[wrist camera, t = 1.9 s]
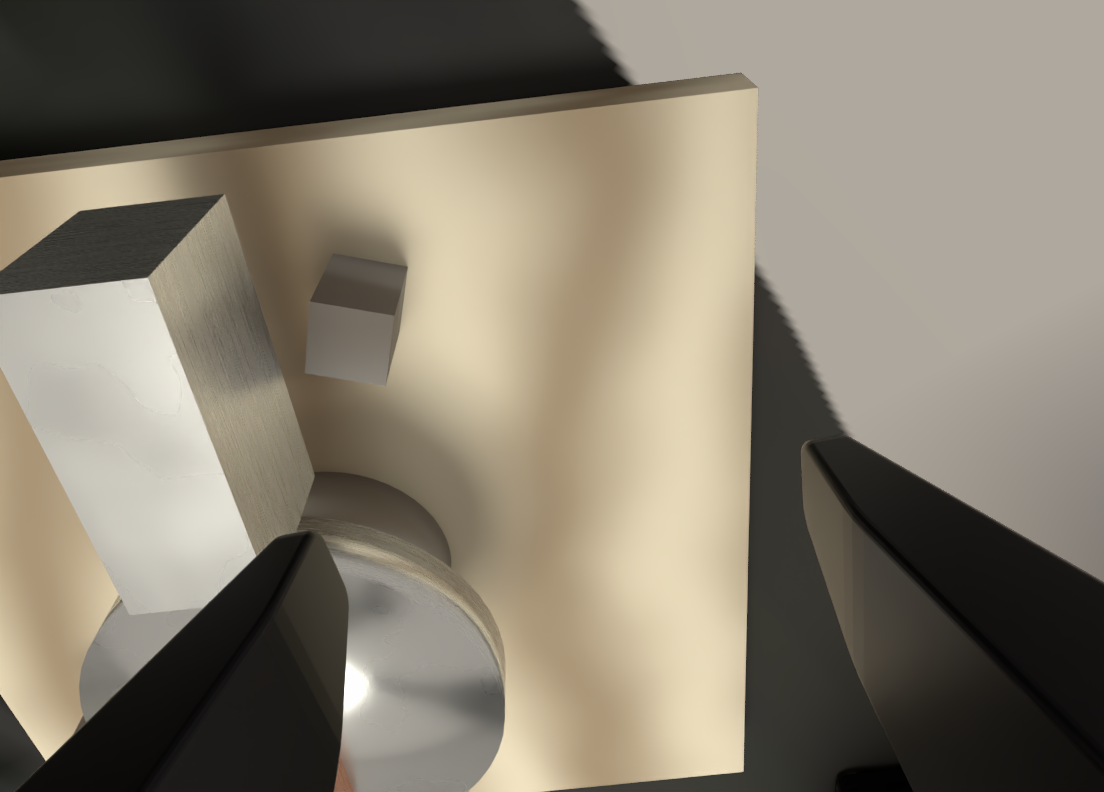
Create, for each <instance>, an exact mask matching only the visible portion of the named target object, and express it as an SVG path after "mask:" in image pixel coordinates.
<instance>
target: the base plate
mask: <svg viewBox="0 0 1104 792" xmlns="http://www.w3.org/2000/svg"><path fill="white" fill-rule="evenodd" d="M757 127H758V87H757V86H756V85H754V84H753V83H752V82H751V81H750V80H749V79H748V78H746V77H745V76H744V75H743V74H742V73H736V74H727V75H718V76H710V77H701V78H694V79H685V80H677V81H668V82H659V83H651V84H642V85H634V86H626V87H617V88H609V89H600V90H592V91H584V92H575V93H567V94H558V95H550V96H541V97H533V98H525V99H516V100H508V101H499V102H491V103H483V104H474V105H466V106H457V107H449V108H440V109H432V110H424V111H415V112H407V113H398V114H390V115H382V116H373V117H365V118H356V119H348V120H340V121H331V122H323V123H314V124H306V125H297V126H289V127H281V128H272V129H264V130H255V131H247V132H239V133H230V134H222V135H213V136H205V137H196V138H188V139H180V140H171V141H163V142H154V143H146V144H138V145H129V146H121V147H112V148H104V149H96V150H87V151H79V152H70V153H62V154H53V155H45V156H37V157H28V158H20V159H11V160H3V161H0V271H1V270H3V269H4V268H5V267H7V266H8V265H9V264H11V263H12V262H13V261H15V260H16V259H17V258H18V257H20V256H21V255H22V254H24V253H25V252H26V251H28V250H29V249H30V248H32V247H33V246H34V245H36V244H37V243H38V242H39V241H41V240H42V239H43V238H45V237H46V236H47V235H49V234H50V233H51V232H53V231H54V230H55V229H57V228H58V227H59V226H60V225H62V224H63V223H64V222H66V221H67V220H68V219H70V218H71V217H72V216H74V215H75V214H76V213H77V212H79V211H83V210H91V209H100V208H108V207H117V206H125V205H134V204H142V203H151V202H159V201H168V200H176V199H185V198H194V197H202V196H211V195H219V194H225V196H226V199H227V202H228V206H229V209H230V212H231V215H232V218H233V221H234V224H235V228H236V231H237V234H238V237H239V240H240V243H241V246H242V249H243V253H244V256H245V259H246V262H247V265H248V268H249V271H250V274H251V278H252V281H253V284H254V287H255V290H256V293H257V296H258V300H259V303H260V306H261V309H262V312H263V315H264V318H265V321H266V325H267V328H268V331H269V334H270V337H271V340H272V343H273V347H274V350H275V353H276V356H277V359H278V362H279V365H280V368H281V372H282V375H283V378H284V381H285V384H286V387H287V390H288V393H289V397H290V400H291V403H292V406H293V409H294V412H295V415H296V419H297V422H298V425H299V428H300V431H301V434H302V437H303V440H304V444H305V447H306V450H307V453H308V456H309V459H310V462H311V465H312V469H313V472H314V475H315V477H314V480H313V483H312V486H311V489H310V492H309V495H308V498H307V501H306V504H305V507H304V510H303V513H302V516H310V517H320V518H326V519H333V520H340V521H345V522H349V523H354V524H358V525H362V526H366V527H370V528H373V529H376V530H379V531H381V532H384V533H387V534H390V535H393V536H395V537H398V538H400V539H402V540H404V541H406V542H408V543H411V544H413V545H415V546H417V547H419V548H421V549H423V550H424V551H426V552H428V553H429V554H431V555H432V556H434V557H436V558H437V559H439V560H440V561H442V562H444V563H445V564H446V565H447V566H449V567H450V568H451V569H452V570H454V571H455V572H456V573H457V574H459V575H460V576H461V577H462V578H463V579H464V580H465V581H466V582H467V583H468V584H469V585H470V586H471V587H472V588H473V589H474V590H475V591H476V592H477V593H478V595H479V596H480V597H481V599H482V600H483V602H484V603H485V604H486V606H487V607H488V609H489V610H490V612H491V614H492V616H493V618H494V620H495V622H496V624H497V626H498V628H499V631H500V634H501V638H502V641H503V645H504V652H505V661H506V678H505V723H504V733H503V738H502V741H501V744H500V748H499V751H498V753H497V755H496V757H495V759H494V761H493V762H492V764H491V766H490V768H489V769H488V770H487V772H486V773H485V774H484V776H483V777H482V778H481V779H480V781H479V782H478V783H477V784H476V785H475V786H473V787H472V788H471V789H470V790H469V791H468V792H542V791H552V790H562V789H573V788H583V787H593V786H603V785H613V784H623V783H634V782H644V781H654V780H664V779H674V778H685V777H695V776H705V775H715V774H725V773H735V772H743V766H744V720H745V675H746V630H747V584H748V539H749V493H750V448H751V403H752V357H753V312H754V266H755V221H756V220H755V219H756V218H755V217H756V175H757V172H756V171H757V129H758V128H757ZM118 595H119V594H118V592H117V590H116V588H115V586H114V584H113V582H112V580H111V578H110V576H109V575H108V573H107V571H106V569H105V567H104V565H103V563H102V561H101V559H100V557H99V555H98V553H97V552H96V550H95V548H94V546H93V544H92V542H91V540H90V538H89V536H88V534H87V532H86V530H85V529H84V527H83V525H82V523H81V521H80V519H79V517H78V515H77V513H76V511H75V509H74V507H73V506H72V504H71V502H70V500H69V498H68V496H67V494H66V492H65V490H64V488H63V486H62V484H61V483H60V481H59V479H58V477H57V475H56V473H55V471H54V469H53V467H52V465H51V463H50V461H49V460H48V458H47V456H46V454H45V452H44V450H43V448H42V446H41V444H40V442H39V440H38V438H37V437H36V435H35V433H34V431H33V429H32V427H31V425H30V423H29V421H28V419H27V417H26V415H25V414H24V412H23V410H22V408H21V406H20V404H19V402H18V400H17V398H16V396H15V394H14V392H13V391H12V389H11V387H10V385H9V383H8V381H7V379H6V377H5V375H4V373H3V371H2V369H1V368H0V694H1V696H2V697H3V699H4V700H5V702H6V703H7V705H8V706H9V708H10V709H11V710H12V712H13V713H14V715H15V716H16V718H17V719H18V721H19V722H20V724H21V725H22V727H23V728H24V729H25V731H26V732H27V734H28V735H29V737H30V738H31V740H32V741H33V743H34V744H35V746H36V747H37V749H38V750H39V751H40V753H41V754H42V756H43V757H44V759H45V760H46V761H47V760H48V759H49V758H50V757H51V756H52V755H53V754H54V753H55V752H56V751H57V750H58V749H59V748H60V747H61V746H62V745H63V744H64V743H65V742H66V741H67V740H68V739H69V738H70V737H71V736H72V735H73V734H74V733H75V732H76V731H77V730H78V729H79V728H81V727H82V726H83V725H84V724H85V723H86V721H85V718H84V715H83V712H82V708H81V703H80V693H79V682H80V674H81V668H82V665H83V662H84V659H85V656H86V653H87V650H88V649H89V647H90V645H91V643H92V641H93V640H94V638H95V636H96V634H97V632H98V631H99V629H100V627H101V625H102V623H103V622H104V620H105V618H106V616H107V614H108V613H109V611H110V609H111V607H112V605H113V604H114V602H115V600H116V598H117V596H118Z"/></svg>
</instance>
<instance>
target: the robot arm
mask: <svg viewBox="0 0 1104 792" xmlns="http://www.w3.org/2000/svg"><path fill="white" fill-rule="evenodd" d="M801 464H802V484H803V504H804V513H805V518H806V523H807V527H808V530H809V533H810V536H811V539H812V542H813V545H814V548H815V551H816V554H817V557H818V560H819V563H820V566H821V569H822V572H823V575H824V578H825V581H826V584H827V587H828V590H829V593H830V596H831V599H832V602H833V605H834V608H835V611H836V614H837V617H838V620H839V623H840V626H841V629H842V632H843V635H844V638H845V641H846V644H847V647H848V650H849V652H850V655H851V658H852V661H853V664H854V666H855V668H856V670H857V673H858V675H859V677H860V680H861V682H862V684H863V687H864V689H865V691H866V693H867V695H868V697H869V699H870V701H871V703H872V706H873V708H874V710H875V712H876V714H877V716H878V718H879V720H880V722H881V725H882V727H883V729H884V731H885V733H886V735H887V737H888V739H889V741H890V743H891V746H892V748H893V750H894V752H895V754H896V756H897V758H898V760H899V762H900V765H901V767H902V769H898V770H888V771H877V772H867V773H857V774H849V775H845V776H843V777H841V778H840V779H839V780H838V781H837V784H836V791H835V792H1104V582H1103V581H1101V580H1099V579H1097V578H1096V577H1094V576H1092V575H1090V574H1089V573H1087V572H1085V571H1084V570H1082V569H1080V568H1078V567H1077V566H1075V565H1073V564H1071V563H1070V562H1068V561H1066V560H1064V559H1063V558H1061V557H1059V556H1057V555H1055V554H1054V553H1052V552H1050V551H1049V550H1047V549H1045V548H1043V547H1042V546H1040V545H1038V544H1036V543H1034V542H1033V541H1031V540H1029V539H1028V538H1026V537H1024V536H1022V535H1020V534H1019V533H1017V532H1015V531H1014V530H1012V529H1010V528H1008V527H1007V526H1005V525H1003V524H1001V523H1000V522H998V521H996V520H994V519H993V518H991V517H989V516H987V515H986V514H984V513H982V512H980V511H979V510H977V509H975V508H973V507H972V506H970V505H968V504H966V503H965V502H963V501H961V500H959V499H957V498H955V497H954V496H952V495H950V494H949V493H947V492H945V491H944V490H942V489H940V488H938V487H936V486H935V485H933V484H931V483H930V482H928V481H926V480H924V479H923V478H921V477H919V476H917V475H916V474H914V473H912V472H910V471H909V470H907V469H905V468H903V467H902V466H900V465H898V464H896V463H894V462H893V461H891V460H889V459H888V458H886V457H884V456H882V455H881V454H879V453H877V452H875V451H874V450H872V449H870V448H868V447H867V446H865V445H863V444H861V443H860V442H858V441H856V440H854V439H853V438H851V437H849V436H846V435H835V436H830V437H824V438H819V439H813V440H808V441H806V442H805V443H804V445H803V446H802V450H801ZM348 619H349V600H348V594H347V590H346V587H345V584H344V582H343V580H342V577H341V575H340V573H339V571H338V569H337V566H336V564H335V562H334V560H333V557H332V555H331V553H330V551H329V549H328V546H327V544H326V542H325V540H324V538H323V537H322V536H321V534H320V533H319V532H317V531H314V530H307V531H301V532H296V533H290V534H284V535H281V536H278V537H276V538H275V539H274V540H272V541H271V542H270V543H269V544H268V545H267V546H266V547H265V548H264V549H263V550H262V551H261V552H260V553H259V554H258V555H257V556H256V557H255V558H254V559H253V560H252V561H251V562H250V563H249V564H248V565H247V566H246V567H245V568H244V569H243V570H242V571H241V572H240V573H238V574H237V575H236V576H235V577H234V578H233V579H232V580H231V581H230V582H229V583H228V584H227V585H226V586H225V587H224V588H223V589H222V590H221V591H220V592H219V593H218V594H217V595H216V596H215V597H214V598H213V599H212V600H211V601H210V602H209V603H208V604H207V605H206V606H205V607H204V608H203V609H202V610H201V611H200V612H199V613H197V614H196V615H195V616H194V617H193V618H192V619H191V620H190V621H189V622H188V623H187V624H186V625H185V626H184V627H183V628H182V629H181V630H180V631H179V632H178V633H177V634H176V635H175V636H174V637H173V638H172V639H171V640H170V641H169V642H168V643H167V644H166V645H165V646H164V647H163V648H162V649H161V650H160V651H159V652H157V653H156V654H155V655H154V656H153V657H152V658H151V659H150V660H149V661H148V662H147V663H146V664H145V665H144V666H143V667H142V668H141V669H140V670H139V671H138V672H137V673H136V674H135V675H134V676H133V677H132V678H131V679H130V680H129V681H128V682H127V683H126V684H125V685H124V686H123V687H122V688H121V689H120V690H119V691H117V692H116V693H115V694H114V695H113V696H112V697H111V698H110V699H109V700H108V701H107V702H106V703H105V704H104V705H103V706H102V707H101V708H100V709H99V710H98V711H97V712H96V713H95V714H94V715H93V716H92V717H91V718H90V719H89V720H88V721H87V722H86V723H85V724H84V725H83V726H82V727H81V728H79V729H78V730H77V731H76V732H75V733H74V734H73V735H72V736H71V737H70V738H69V739H68V740H67V741H66V742H65V743H64V744H63V745H62V746H61V747H60V748H59V749H58V750H57V751H56V752H55V753H54V754H53V755H52V756H51V757H50V758H49V759H48V760H47V761H46V762H45V763H44V764H43V765H41V766H40V767H39V768H38V769H37V770H36V771H35V772H34V773H33V774H32V775H31V776H30V777H29V778H28V779H27V780H26V781H25V782H24V783H23V784H22V785H21V786H20V787H19V788H18V789H17V790H16V791H15V792H334V789H335V783H336V777H337V771H338V764H339V757H340V750H341V740H342V728H343V712H344V693H345V675H346V656H347V638H348Z"/></svg>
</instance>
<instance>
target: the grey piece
mask: <svg viewBox="0 0 1104 792" xmlns="http://www.w3.org/2000/svg"><path fill="white" fill-rule="evenodd" d="M0 368H1V369H2V371H3V373H4V375H5V377H6V379H7V381H8V383H9V385H10V387H11V389H12V391H13V392H14V394H15V396H16V398H17V400H18V402H19V404H20V406H21V408H22V410H23V412H24V414H25V415H26V417H27V419H28V421H29V423H30V425H31V427H32V429H33V431H34V433H35V435H36V437H37V438H38V440H39V442H40V444H41V446H42V448H43V450H44V452H45V454H46V456H47V458H48V460H49V461H50V463H51V465H52V467H53V469H54V471H55V473H56V475H57V477H58V479H59V481H60V483H61V484H62V486H63V488H64V490H65V492H66V494H67V496H68V498H69V500H70V502H71V504H72V506H73V507H74V509H75V511H76V513H77V515H78V517H79V519H80V521H81V523H82V525H83V527H84V529H85V530H86V532H87V534H88V536H89V538H90V540H91V542H92V544H93V546H94V548H95V550H96V552H97V553H98V555H99V557H100V559H101V561H102V563H103V565H104V567H105V569H106V571H107V573H108V575H109V576H110V578H111V580H112V582H113V584H114V586H115V588H116V590H117V592H118V594H119V595H118V596H117V598H116V600H115V602H114V604H113V605H112V607H111V609H110V611H109V613H108V614H107V616H106V618H105V620H104V622H103V623H102V625H101V627H100V629H99V631H98V632H97V634H96V636H95V638H94V640H93V641H92V643H91V645H90V647H89V649H88V650H87V653H86V656H85V659H84V662H83V665H82V668H81V674H80V682H79V693H80V703H81V708H82V712H83V715H84V718H85V721H86V722H87V721H88V720H89V719H90V718H91V717H92V716H93V715H94V714H95V713H96V712H97V711H98V710H99V709H100V708H101V707H102V706H103V705H104V704H105V703H106V702H107V701H108V700H109V699H110V698H111V697H112V696H113V695H114V694H115V693H116V692H117V691H119V690H120V689H121V688H122V687H123V686H124V685H125V684H126V683H127V682H128V681H129V680H130V679H131V678H132V677H133V676H134V675H135V674H136V673H137V672H138V671H139V670H140V669H141V668H142V667H143V666H144V665H145V664H146V663H147V662H148V661H149V660H150V659H151V658H152V657H153V656H154V655H155V654H156V653H157V652H159V651H160V650H161V649H162V648H163V647H164V646H165V645H166V644H167V643H168V642H169V641H170V640H171V639H172V638H173V637H174V636H175V635H176V634H177V633H178V632H179V631H180V630H181V629H182V628H183V627H184V626H185V625H186V624H187V623H188V622H189V621H190V620H191V619H192V618H193V617H194V616H195V615H196V614H197V613H199V612H200V611H201V610H202V609H203V608H204V607H205V606H206V605H207V604H208V603H209V602H210V601H211V600H212V599H213V598H214V597H215V596H216V595H217V594H218V593H219V592H220V591H221V590H222V589H223V588H224V587H225V586H226V585H227V584H228V583H229V582H230V581H231V580H232V579H233V578H234V577H235V576H236V575H237V574H238V573H240V572H241V571H242V570H243V569H244V568H245V567H246V566H247V565H248V564H249V563H250V562H251V561H252V560H253V559H254V558H255V557H256V556H257V555H258V554H259V553H260V552H261V551H262V550H263V549H264V548H265V547H266V546H267V545H268V544H269V543H270V542H271V541H272V540H274V539H275V538H276V537H278V536H281V535H284V534H290V533H296V532H301V531H307V530H314V531H317V532H319V533H320V534H321V536H322V537H323V538H324V540H325V542H326V544H327V546H328V549H329V551H330V553H331V555H332V557H333V560H334V562H335V564H336V566H337V569H338V571H339V573H340V575H341V577H342V580H343V582H344V584H345V587H346V590H347V594H348V600H349V619H348V638H347V656H346V675H345V693H344V712H343V728H342V740H341V750H340V757H339V764H338V771H337V777H336V783H335V789H334V792H468V791H469V790H470V789H471V788H472V787H473V786H475V785H476V784H477V783H478V782H479V781H480V779H481V778H482V777H483V776H484V774H485V773H486V772H487V770H488V769H489V768H490V766H491V764H492V762H493V761H494V759H495V757H496V755H497V753H498V751H499V748H500V744H501V741H502V738H503V733H504V723H505V678H506V661H505V652H504V645H503V641H502V638H501V634H500V631H499V628H498V626H497V624H496V622H495V620H494V618H493V616H492V614H491V612H490V610H489V609H488V607H487V606H486V604H485V603H484V602H483V600H482V599H481V597H480V596H479V595H478V593H477V592H476V591H475V590H474V589H473V588H472V587H471V586H470V585H469V584H468V583H467V582H466V581H465V580H464V579H463V578H462V577H461V576H460V575H459V574H457V573H456V572H455V571H454V570H452V569H451V568H450V567H449V566H447V565H446V564H445V563H444V562H442V561H440V560H439V559H437V558H436V557H434V556H432V555H431V554H429V553H428V552H426V551H424V550H423V549H421V548H419V547H417V546H415V545H413V544H411V543H408V542H406V541H404V540H402V539H400V538H398V537H395V536H393V535H390V534H387V533H384V532H381V531H379V530H376V529H373V528H370V527H366V526H362V525H358V524H354V523H349V522H345V521H340V520H333V519H326V518H320V517H310V516H302V513H303V510H304V507H305V504H306V501H307V498H308V495H309V492H310V489H311V486H312V483H313V480H314V477H315V475H314V472H313V469H312V465H311V462H310V459H309V456H308V453H307V450H306V447H305V444H304V440H303V437H302V434H301V431H300V428H299V425H298V422H297V419H296V415H295V412H294V409H293V406H292V403H291V400H290V397H289V393H288V390H287V387H286V384H285V381H284V378H283V375H282V372H281V368H280V365H279V362H278V359H277V356H276V353H275V350H274V347H273V343H272V340H271V337H270V334H269V331H268V328H267V325H266V321H265V318H264V315H263V312H262V309H261V306H260V303H259V300H258V296H257V293H256V290H255V287H254V284H253V281H252V278H251V274H250V271H249V268H248V265H247V262H246V259H245V256H244V253H243V249H242V246H241V243H240V240H239V237H238V234H237V231H236V228H235V224H234V221H233V218H232V215H231V212H230V209H229V206H228V202H227V199H226V196H225V194H219V195H211V196H202V197H194V198H185V199H176V200H168V201H159V202H151V203H142V204H134V205H125V206H117V207H108V208H100V209H91V210H83V211H79V212H77V213H76V214H75V215H74V216H72V217H71V218H70V219H68V220H67V221H66V222H64V223H63V224H62V225H60V226H59V227H58V228H57V229H55V230H54V231H53V232H51V233H50V234H49V235H47V236H46V237H45V238H43V239H42V240H41V241H39V242H38V243H37V244H36V245H34V246H33V247H32V248H30V249H29V250H28V251H26V252H25V253H24V254H22V255H21V256H20V257H18V258H17V259H16V260H15V261H13V262H12V263H11V264H9V265H8V266H7V267H5V268H4V269H3V270H1V271H0Z"/></svg>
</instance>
